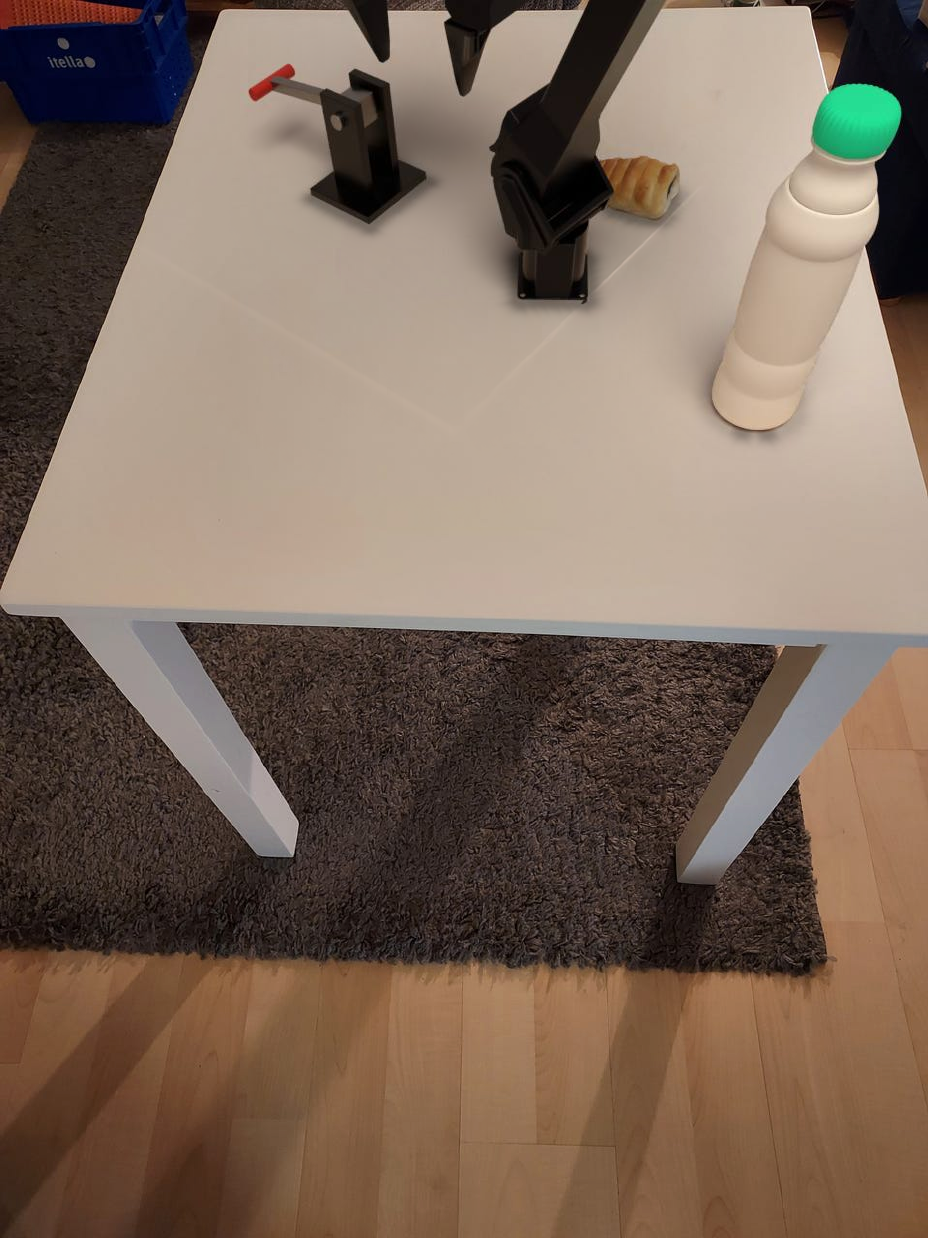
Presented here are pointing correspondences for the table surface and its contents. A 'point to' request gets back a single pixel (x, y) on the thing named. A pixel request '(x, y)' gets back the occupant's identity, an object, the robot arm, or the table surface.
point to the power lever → (311, 92)
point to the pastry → (642, 185)
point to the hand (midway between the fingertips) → (424, 76)
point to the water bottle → (806, 259)
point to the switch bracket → (363, 153)
